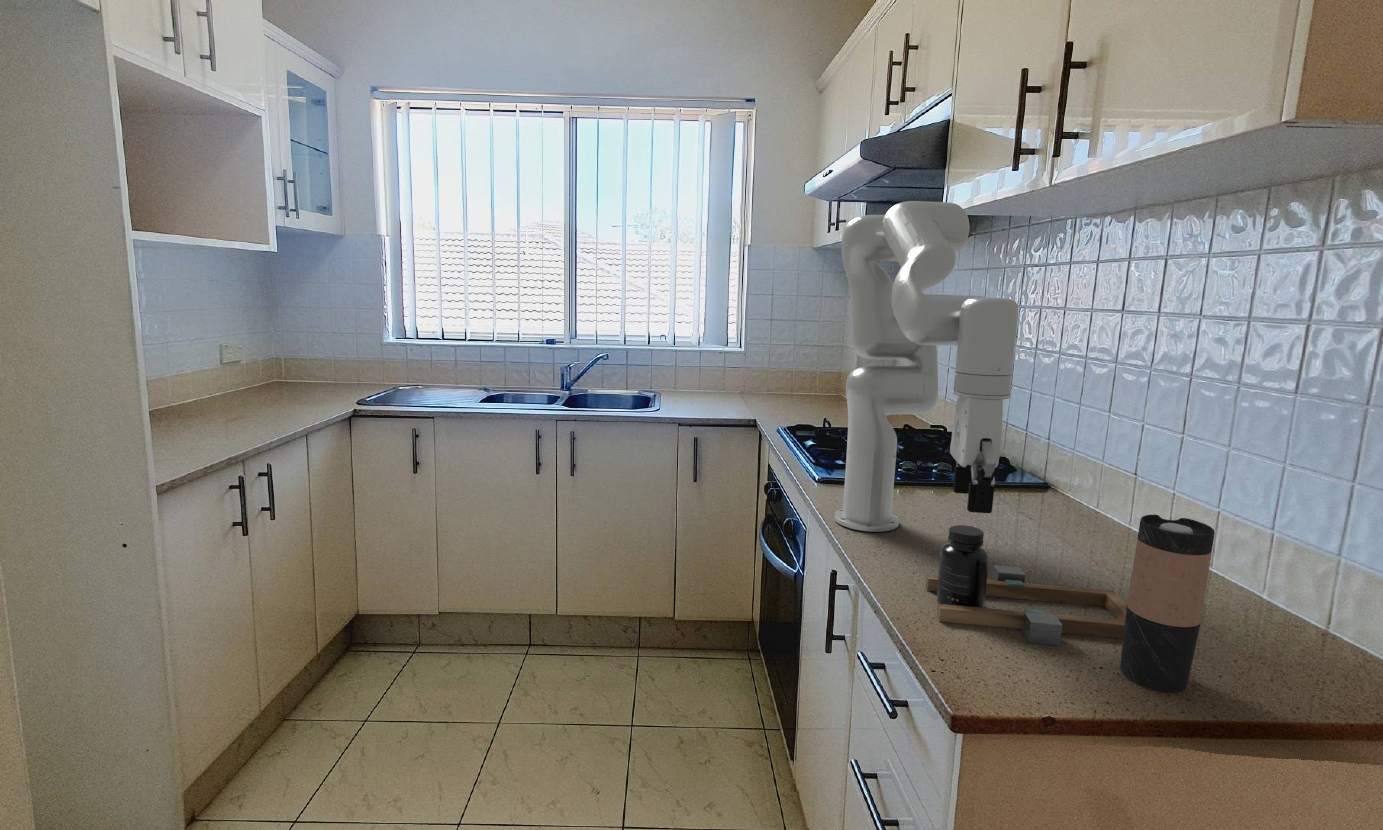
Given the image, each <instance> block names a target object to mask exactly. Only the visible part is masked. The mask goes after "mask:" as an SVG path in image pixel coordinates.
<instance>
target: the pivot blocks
mask: <svg viewBox="0 0 1383 830" xmlns="http://www.w3.org/2000/svg"><path fill="white" fill-rule="evenodd" d="M991 579H992V580H993V581H1005V580H1016V581H1022V583H1026V582H1025V581H1026V574H1025V572H1024V571H1023V569H1022V568H1021V567H1018V566H1009V565H997V564H996V565H993V570H992V578H991ZM1049 614H1050V613H1047V614H1038V613H1027V612H1024V620H1023V628H1022V629H1021V633H1022V634H1023V636H1024V638H1025V639H1026V641H1027V643H1029V644H1038V645H1049V646H1057V647H1058V646H1059V647H1060V646H1061V639H1062V634H1063V633H1062V624H1061V622H1060V621H1059V620H1058V618H1057V617H1056V616H1055V615H1049Z"/></svg>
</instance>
